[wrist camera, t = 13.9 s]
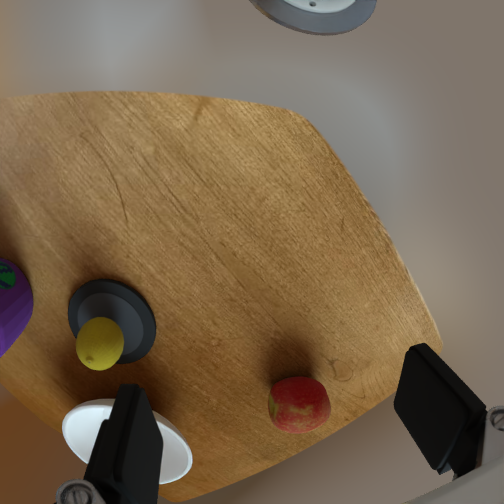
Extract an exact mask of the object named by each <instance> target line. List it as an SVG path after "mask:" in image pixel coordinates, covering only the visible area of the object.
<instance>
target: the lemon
mask: <svg viewBox="0 0 504 504" xmlns="http://www.w3.org/2000/svg"><path fill="white" fill-rule="evenodd" d="M123 346H124V337H123V333H122V331H121V329H120V327H119V326H118V325H117V324H116V323H115V322H114V321H112V320H111V319H108V318H105V317H96V318H93V319H91V320H89V321H88V322H86V323H85V324H84V325H83V326H82V328H81V329H80V331H79V333H78V336H77V340H76V352H77V355H78V357H79V359H80V360H81V362H82V363H83V364H84V365H86V366H87V367H89V368H90V369H93V370H105V369H108V368H110V367H111V366H112V365H113V364H115V363H116V362H117V360H118V359H119V357H120V355H121V353H122V351H123Z"/></svg>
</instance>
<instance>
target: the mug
mask: <svg viewBox="0 0 504 504" xmlns="http://www.w3.org/2000/svg"><path fill="white" fill-rule="evenodd" d="M32 311H33V295H32V292H31V288H30V285H29V283H28V281H27V279H26V277H25V276H24V274H23V273H22V271H21V270H20V269H19V268H18V267H17V266H16V265H15V264H13V263H12V262H10V261H9V260H6V259H3V258H0V357H1V356H2V355H3V354H4V353H5V352H6V351H7V350H8V349H9V348H10V346H11V345H12V344H13V343H14V342H15V340H16V339H17V338H18V337H19V335H20V334H21V333H22V331H23V330H24V329H25V327H26V325H27V324H28V322H29V320H30V318H31V315H32Z"/></svg>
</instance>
